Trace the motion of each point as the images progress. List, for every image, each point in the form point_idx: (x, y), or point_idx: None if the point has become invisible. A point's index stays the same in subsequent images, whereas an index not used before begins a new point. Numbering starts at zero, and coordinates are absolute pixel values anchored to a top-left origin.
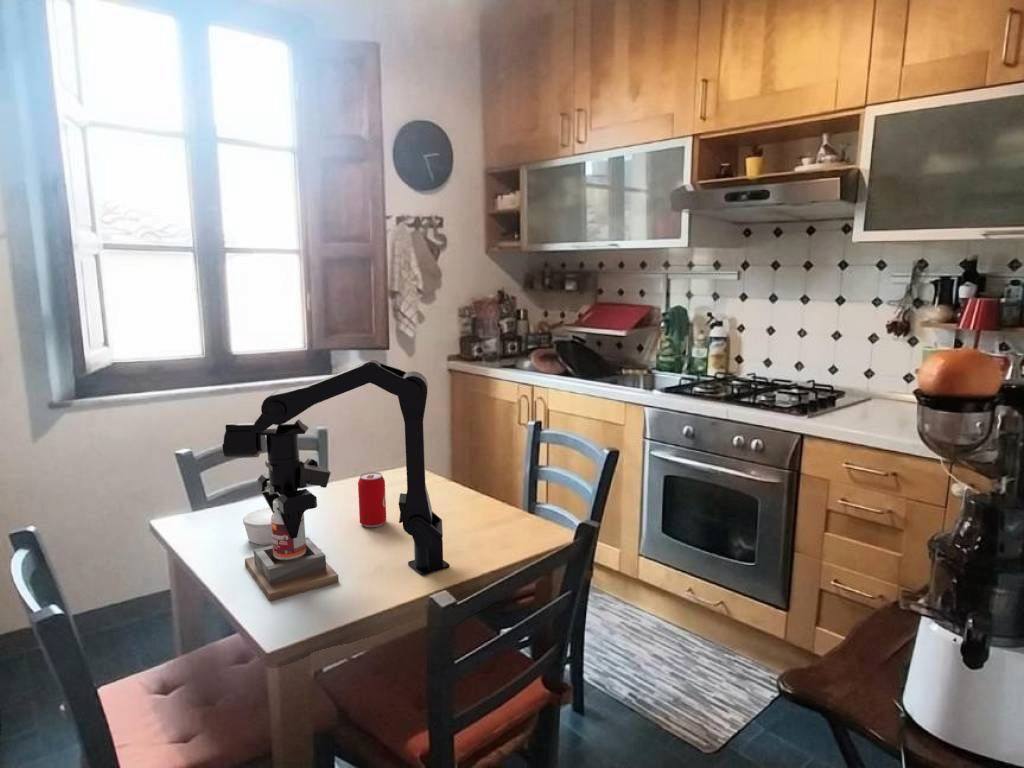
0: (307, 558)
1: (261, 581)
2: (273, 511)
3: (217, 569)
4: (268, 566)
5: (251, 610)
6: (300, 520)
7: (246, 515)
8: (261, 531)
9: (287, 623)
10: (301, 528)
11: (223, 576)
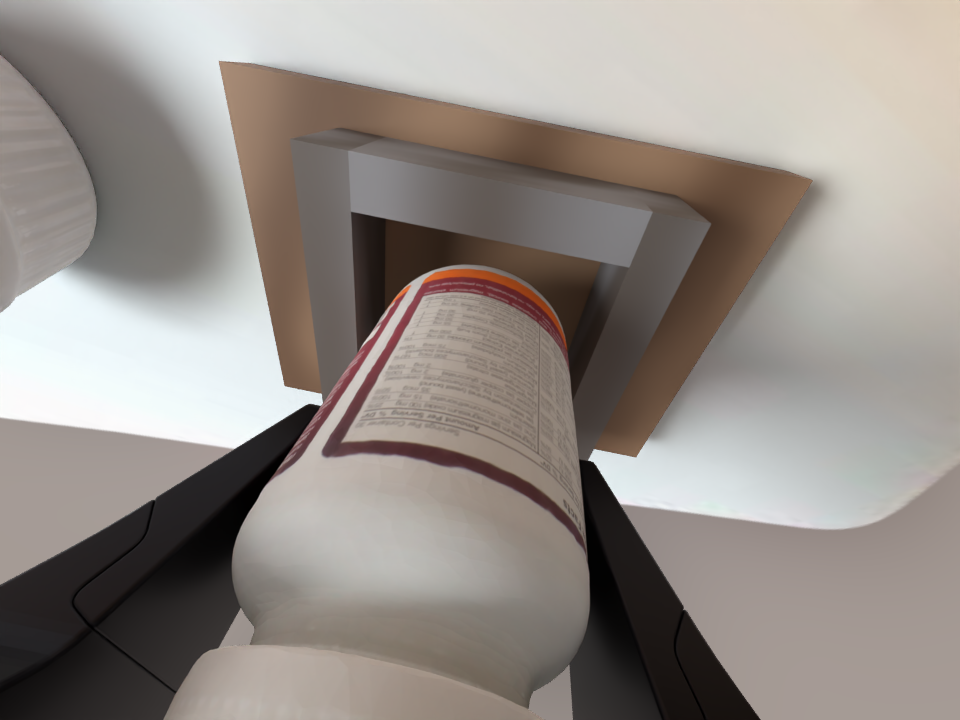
0: (636, 331)
1: None
2: (235, 611)
3: None
4: None
5: (628, 478)
6: (705, 646)
7: None
8: (33, 270)
9: (808, 464)
10: (572, 459)
11: None
